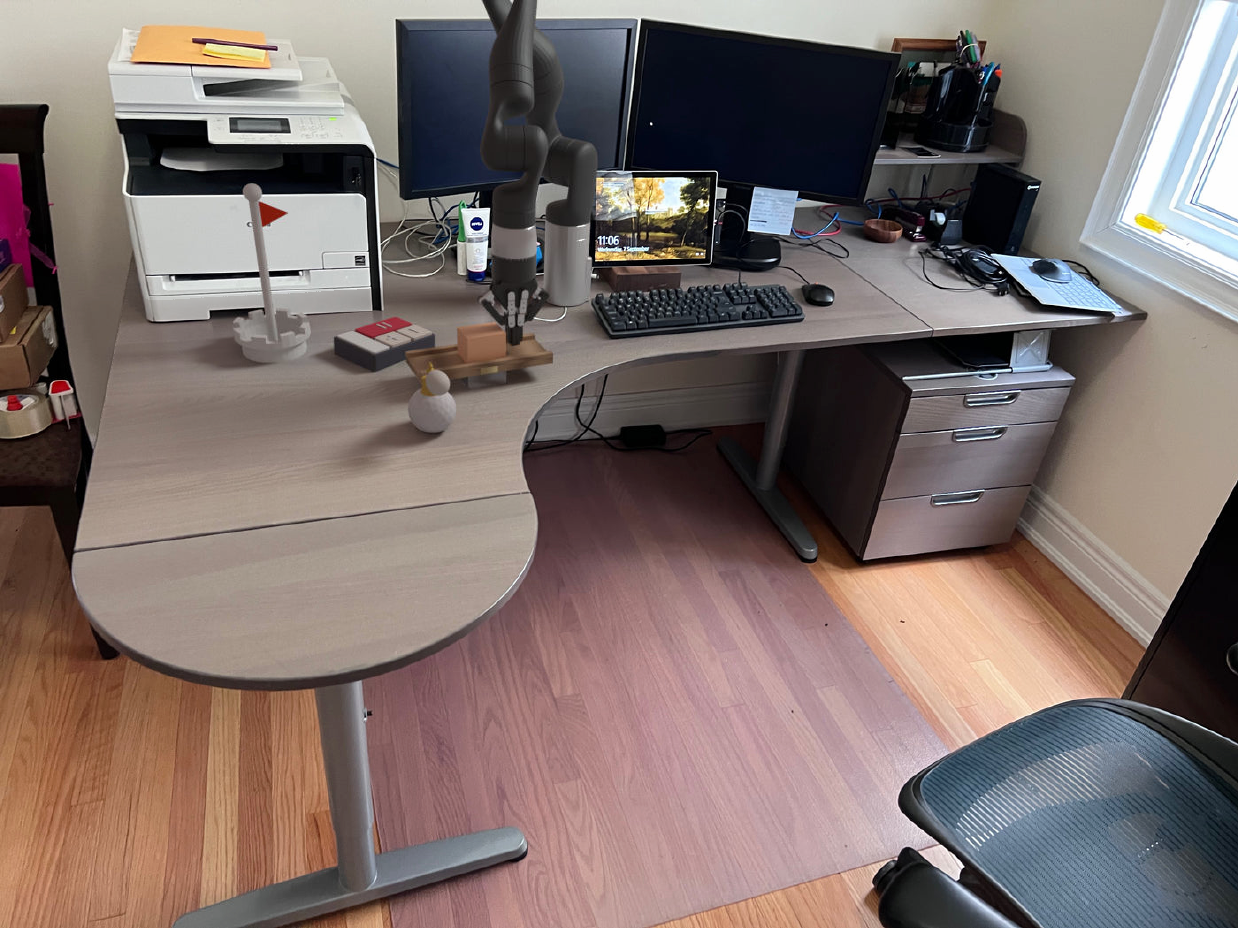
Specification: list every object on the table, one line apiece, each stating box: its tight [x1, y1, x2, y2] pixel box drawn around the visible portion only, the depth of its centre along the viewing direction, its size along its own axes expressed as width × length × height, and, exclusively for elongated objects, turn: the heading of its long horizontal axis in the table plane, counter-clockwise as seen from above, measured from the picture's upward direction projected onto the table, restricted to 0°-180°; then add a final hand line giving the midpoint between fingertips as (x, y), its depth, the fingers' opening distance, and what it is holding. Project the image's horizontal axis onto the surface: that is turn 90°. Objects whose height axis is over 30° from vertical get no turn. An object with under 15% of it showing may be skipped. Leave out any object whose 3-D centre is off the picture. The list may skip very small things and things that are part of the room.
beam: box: [405, 332, 554, 390], centre depth 160 cm, size 24×9×5 cm, turn 118°
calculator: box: [333, 316, 436, 373], centre depth 167 cm, size 11×4×15 cm
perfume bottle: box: [407, 362, 457, 434], centre depth 141 cm, size 8×10×12 cm
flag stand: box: [232, 183, 312, 364], centre depth 157 cm, size 13×13×30 cm
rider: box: [456, 321, 506, 364], centre depth 157 cm, size 7×5×5 cm
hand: (513, 343), depth 160 cm, fingers closed
